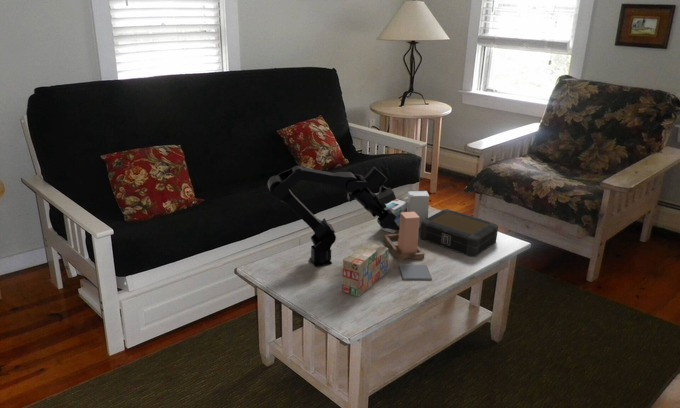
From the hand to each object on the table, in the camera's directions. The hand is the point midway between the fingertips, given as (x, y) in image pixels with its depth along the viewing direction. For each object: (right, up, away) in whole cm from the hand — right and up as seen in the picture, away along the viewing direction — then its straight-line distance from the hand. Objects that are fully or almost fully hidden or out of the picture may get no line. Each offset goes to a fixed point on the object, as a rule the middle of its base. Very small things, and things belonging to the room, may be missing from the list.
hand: (394, 224), depth 208 cm
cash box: (+27, -7, +19) cm, 34 cm away
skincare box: (+12, -2, +31) cm, 33 cm away
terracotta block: (+5, -11, +6) cm, 14 cm away
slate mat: (+7, -17, -8) cm, 20 cm away
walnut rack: (+4, -10, +10) cm, 14 cm away
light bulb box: (+2, -2, +28) cm, 28 cm away
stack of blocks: (-11, -19, -14) cm, 26 cm away
